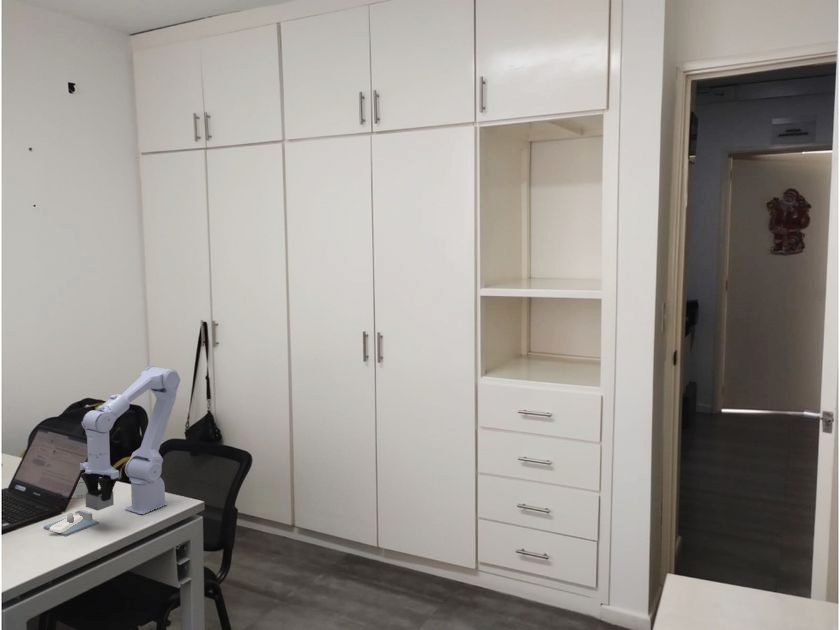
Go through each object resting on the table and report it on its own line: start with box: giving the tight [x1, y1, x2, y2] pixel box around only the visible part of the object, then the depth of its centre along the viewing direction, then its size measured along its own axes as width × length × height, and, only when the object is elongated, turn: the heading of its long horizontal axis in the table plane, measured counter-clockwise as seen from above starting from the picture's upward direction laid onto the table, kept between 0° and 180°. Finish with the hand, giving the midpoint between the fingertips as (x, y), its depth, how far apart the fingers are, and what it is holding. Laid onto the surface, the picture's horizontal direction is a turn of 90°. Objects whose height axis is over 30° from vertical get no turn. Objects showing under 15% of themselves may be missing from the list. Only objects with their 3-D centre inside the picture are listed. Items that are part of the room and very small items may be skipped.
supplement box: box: [72, 478, 88, 499], centre depth 226 cm, size 7×7×13 cm
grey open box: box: [85, 487, 115, 511], centre depth 201 cm, size 5×5×4 cm
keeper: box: [43, 509, 100, 537], centre depth 203 cm, size 10×10×4 cm
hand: (100, 498), depth 201 cm, fingers closed on grey open box, 5 cm apart
